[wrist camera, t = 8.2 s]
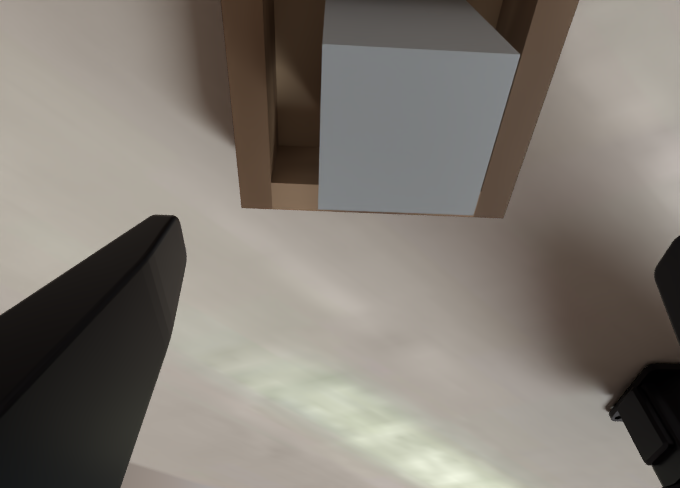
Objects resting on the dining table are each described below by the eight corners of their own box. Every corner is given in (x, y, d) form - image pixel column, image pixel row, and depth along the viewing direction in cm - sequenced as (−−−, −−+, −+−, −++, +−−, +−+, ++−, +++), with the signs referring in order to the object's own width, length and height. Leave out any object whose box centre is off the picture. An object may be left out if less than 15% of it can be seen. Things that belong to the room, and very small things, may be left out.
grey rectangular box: (456, -9, 16) (520, 54, 10) (433, 114, 19) (473, 215, 13) (326, -17, 16) (322, 44, 10) (322, 109, 18) (317, 209, 13)
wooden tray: (564, -114, 14) (617, -111, 12) (481, 173, 21) (503, 218, 18) (231, -138, 14) (206, -140, 11) (253, 163, 21) (241, 207, 18)
